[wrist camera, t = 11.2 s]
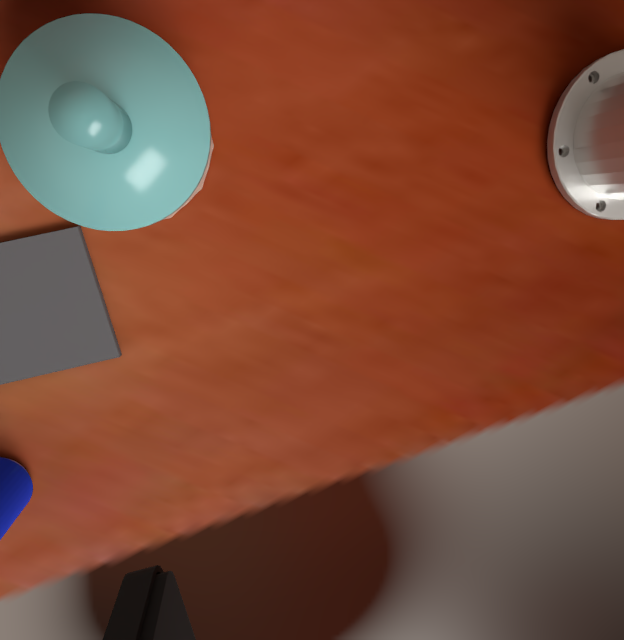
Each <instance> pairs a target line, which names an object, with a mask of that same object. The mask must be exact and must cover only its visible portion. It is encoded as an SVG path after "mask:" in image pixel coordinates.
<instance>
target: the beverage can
mask: <svg viewBox="0 0 624 640" xmlns="http://www.w3.org/2000/svg"><path fill="white" fill-rule="evenodd" d="M32 492H33V484H32V480H31V478H30V476H29V474H28V472H27V471H26V469H25V468H24V467H23V466H22V465H20V464H19V463H17V462H16V461H14V460H11V459H7V458H2V457H0V540H1V538H2V537H3V536H4V534H5V533H6V532H7V530H8V529H9V527H10V526H11V525H12V523H13V522H14V521H15V519H16V518H17V517H18V515H19V514H20V513H21V511H22V510H23V509H24V507H25V506H26V505H27V503H28V502H29V500H30V498H31V496H32Z"/></svg>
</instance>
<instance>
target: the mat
mask: <svg viewBox="0 0 624 640" xmlns="http://www.w3.org/2000/svg"><path fill="white" fill-rule="evenodd" d="M121 355H122V354H121V351H120V348H119V344H118V341H117V338H116V335H115V332H114V329H113V326H112V323H111V320H110V317H109V313H108V310H107V307H106V304H105V301H104V298H103V295H102V292H101V289H100V286H99V282H98V279H97V276H96V273H95V270H94V267H93V264H92V261H91V258H90V255H89V251H88V248H87V245H86V242H85V239H84V236H83V233H82V230H81V227H80V226H78V227H73V228H68V229H64V230H59V231H54V232H50V233H45V234H40V235H35V236H31V237H26V238H21V239H17V240H12V241H7V242H2V243H0V385H1V384H5V383H9V382H14V381H18V380H22V379H27V378H31V377H35V376H39V375H44V374H48V373H52V372H57V371H61V370H65V369H70V368H74V367H78V366H83V365H87V364H91V363H96V362H100V361H104V360H108V359H113V358H117V357H120V356H121Z"/></svg>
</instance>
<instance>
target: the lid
mask: <svg viewBox="0 0 624 640" xmlns="http://www.w3.org/2000/svg"><path fill="white" fill-rule="evenodd" d="M0 142H1V146H2V149H3V151H4V154H5V156H6V158H7V161H8V163H9V165H10V166H11V168H12V170H13V172H14V173H15V175H16V176H17V178H18V179H19V181H20V182H21V183H22V185H23V186H24V187H25V188H26V189H27V190H28V191H29V193H30V194H31V195H32V196H33V197H34V198H35V199H36V200H38V201H39V202H40V203H41V204H42V205H44V206H45V207H46V208H48V209H49V210H51V211H52V212H53V213H55V214H56V215H58V216H60V217H62V218H64V219H66V220H68V221H70V222H73V223H75V224H78V225H81V226H84V227H88V228H92V229H97V230H106V231H125V230H131V229H138V228H141V227H145V226H148V225H152V224H154V223H156V222H159V221H161V220H163V219H165V218H166V217H168V216H170V215H171V214H173V213H174V212H175V211H176V210H178V209H179V208H180V207H181V206H183V204H184V203H185V202H186V201H187V200H188V199H189V198H190V197H191V196H192V194H193V193H194V191H195V190H196V188H197V187H198V185H199V183H200V181H201V179H202V177H203V175H204V172H205V169H206V166H207V164H208V159H209V154H210V147H211V125H210V119H209V113H208V109H207V106H206V102H205V99H204V96H203V94H202V92H201V89H200V87H199V85H198V83H197V80H196V79H195V77H194V75H193V74H192V72H191V70H190V69H189V67H188V66H187V64H186V63H185V62H184V60H183V59H182V58H181V57H180V55H179V54H178V53H177V52H176V51H175V50H174V49H173V48H172V47H171V46H170V45H169V44H168V43H166V42H165V41H164V40H163V39H161V38H160V37H159V36H158V35H156V34H155V33H153V32H151V31H150V30H148V29H147V28H145V27H143V26H141V25H139V24H136V23H134V22H132V21H130V20H126V19H123V18H120V17H117V16H111V15H106V14H92V13H85V14H76V15H70V16H66V17H63V18H59V19H56V20H54V21H52V22H49V23H47V24H45V25H43V26H42V27H40V28H39V29H37V30H35V31H34V32H33V33H32V34H30V35H29V36H28V37H27V38H26V39H25V40H23V42H22V43H21V44H20V45H19V46H18V47H17V49H16V50H15V51H14V52H13V54H12V56H11V57H10V59H9V60H8V62H7V64H6V66H5V69H4V71H3V73H2V76H1V79H0Z"/></svg>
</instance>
